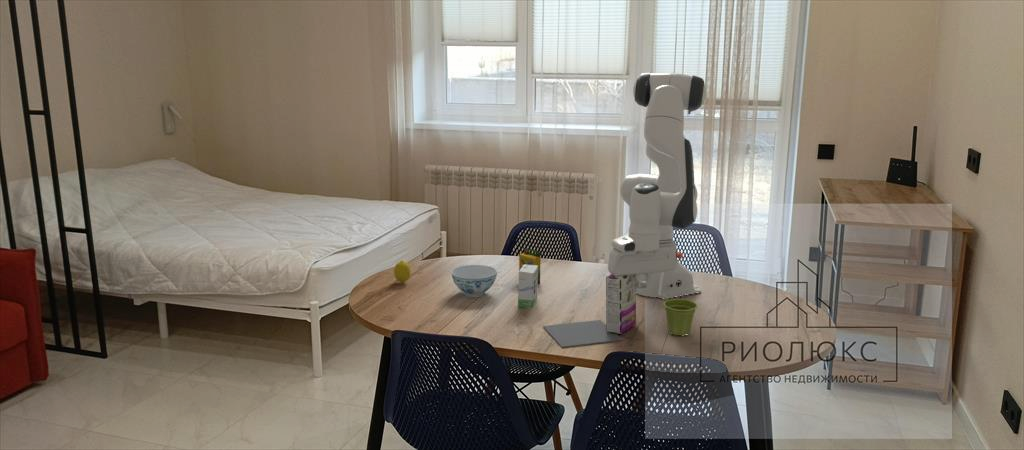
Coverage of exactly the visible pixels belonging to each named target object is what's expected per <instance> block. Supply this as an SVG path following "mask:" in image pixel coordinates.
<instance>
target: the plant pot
mask: <svg viewBox="0 0 1024 450" xmlns="http://www.w3.org/2000/svg"><path fill="white" fill-rule="evenodd" d="M663 306H664V308H665V311H666V312H665V313H666V321H667V330H668V331H669V332H670V333H672V334H675V335H674V336H678V335H685V334H689V333H691V329H692V324H693V319H694V314H695V313H696V309H698V304H697V303H696V302H695V301H692V300H689V299H684V298H683V299H682V298H671V299H666V300H665V301H664V302H663ZM669 332H668V333H669ZM670 333H669V334H670ZM689 335H690V334H689Z"/></svg>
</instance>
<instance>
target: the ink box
mask: <svg viewBox="0 0 1024 450" xmlns="http://www.w3.org/2000/svg"><path fill="white" fill-rule="evenodd" d="M538 285H539V284H538V266H537V265H527V264H524V265H523V266H522V267H521V269H520V270H519V269H518V285H517V286H518V291H517V292H518V293H517V307H518V308H527V309H528V308H529V309H533V308H534V305H535V304H536V302H537V300H538V288H539V286H538Z"/></svg>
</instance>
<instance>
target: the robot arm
mask: <svg viewBox="0 0 1024 450" xmlns="http://www.w3.org/2000/svg"><path fill="white" fill-rule="evenodd" d="M636 77H637V78H636V80H635V81H634V84H633V88H632V90H633V91H632V94H633V97H634V102H636V104H637V105H638V106H641V107H644V108H646V113H645V118H644V125H643V137H644V139H645V142H646V145H645V146H646V147H645V155H646V157H647V159H648V160H650V161H651V162H652V163H653V164H655V165H656V166H657V168H658V172H659V173H658V175H657V174H650V173H649V174H648V173H641V172H640V173H631V174H628V175H626V176H625V177H624V178H623V180H622V181H621V184H620V195H621V199H622V200H623V202H625V203H626V204H627V206H628V207H629V209H628V210H629V212H628V213H629V214H628V215H629V220H630V221H629V222H630V223H629V227H628V232H627V233H626V234H624V235H621V236H619V237H616V238H614V239H612V240H611V246H612V249H611V250H610V252H609V256H608V264H607V270H608V272H609V273H610V275H611V274H612V275H613V276H624V275H633V277H634V279H635V281H636V295H640V296H644V297H648V296H651V297H650V298H656V297H659V298H658V299H660V298H664V299H663V300H669V299H668V298H671V299H673V298H672V297H675V296H680V295H685V294H692V293H696V292H700V293H701V288H700V286H698V285H697V284H696V283H694V277H693V273H692V271H691V270H689V269H688V268H687V267H685V266H684V264H682V263H681V262H679V261H678V259H679V260H681V259H683V257H684V254H683V253H682V252H680V251H677V243H676V241H674V228H678V229H683V230H684V229H686V228H688V227H690V226H692V225H693V224H694V223H695V222H696V219H697V217H698V205H697V200H698V189H697V187H696V184H695V171H694V156H693V148H692V144H691V141H690V140H689V139H687V138H686V137H685V135H684V129H685V116H684V115H685V113H684V111H685V110H686V111H687V113H688V115H690V114H691V113H692V112H694V111H697V110H698V109H700V108H701V107H702V104H703V103H704V102H705V100H706V96H707V87H706V83H705V81H704V78H702V77H700V76H697V75H688V74H682V73H675V72H670V73H665V72H661V73H656V72H655V73H651V72H644V73H640V74H639V75H638V76H636ZM692 295H693V294H692Z"/></svg>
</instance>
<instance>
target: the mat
mask: <svg viewBox="0 0 1024 450" xmlns="http://www.w3.org/2000/svg"><path fill="white" fill-rule="evenodd" d="M542 327H543V329H544V330H545V331H546V332H547V333H548V334H549V335H550V336H551V338H552V339H553V340H554V341H555V342H556V344H558V345H559V346H560V348H562V349H565V348H575V347H582V346H590V345H598V344H608V343H615V342H623V341H624V338H622V337H621V336H619V334H617V333H610V332H606V322H604V321H602V320H601V319H596V320H586V321H579V322H569V323H560V324H558V323H557V324H552V325H551V324H550V325H543V326H542Z"/></svg>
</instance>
